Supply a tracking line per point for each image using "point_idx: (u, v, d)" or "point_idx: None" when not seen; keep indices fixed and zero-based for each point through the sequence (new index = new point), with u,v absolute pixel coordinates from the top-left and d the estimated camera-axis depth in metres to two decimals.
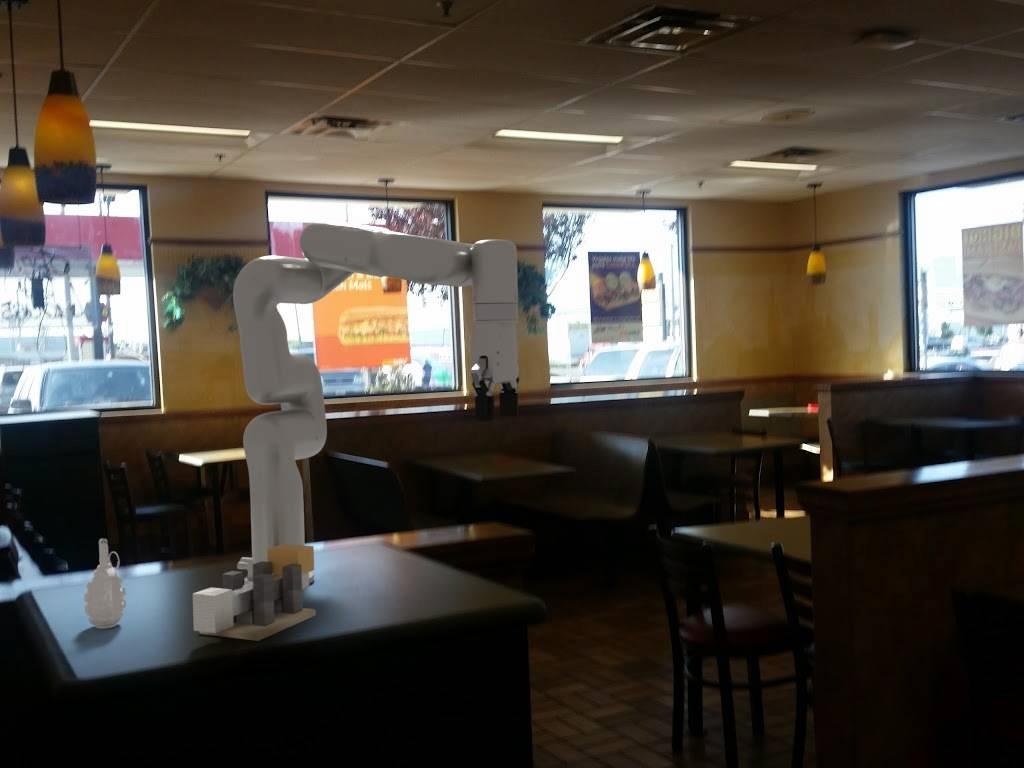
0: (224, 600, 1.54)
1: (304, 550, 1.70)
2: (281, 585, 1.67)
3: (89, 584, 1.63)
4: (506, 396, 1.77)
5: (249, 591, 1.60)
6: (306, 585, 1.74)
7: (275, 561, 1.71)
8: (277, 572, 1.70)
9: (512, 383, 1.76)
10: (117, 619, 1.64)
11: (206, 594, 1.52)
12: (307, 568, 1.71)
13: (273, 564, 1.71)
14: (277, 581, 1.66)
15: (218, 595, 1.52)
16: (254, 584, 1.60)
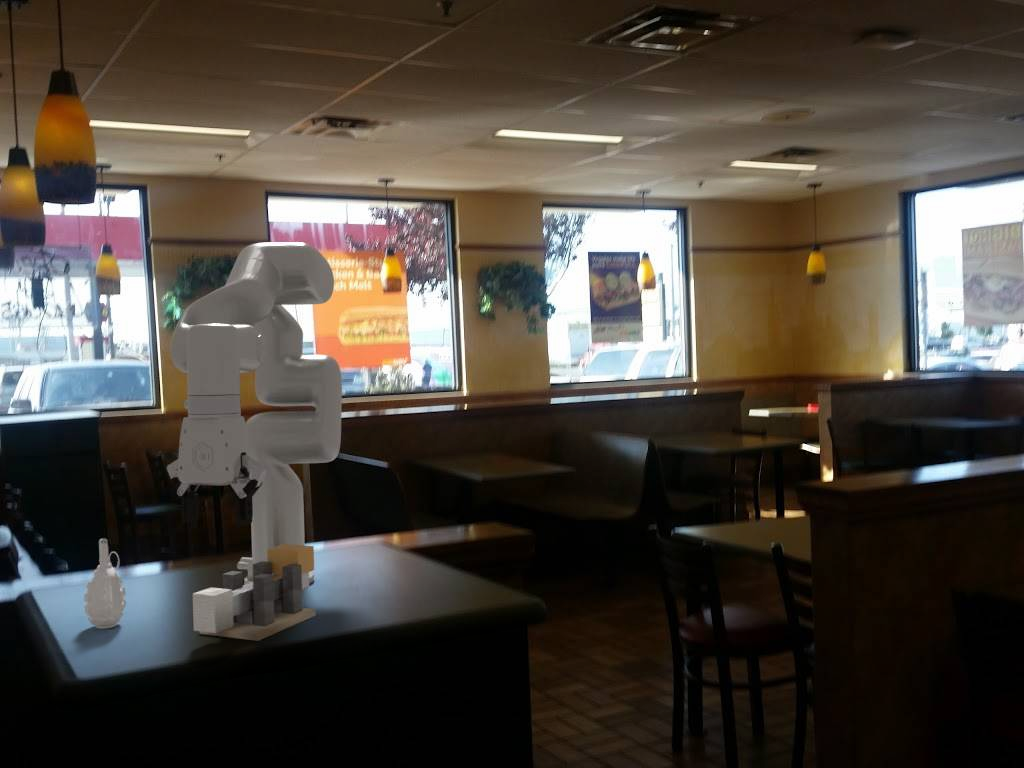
0: (224, 600, 1.54)
1: (304, 550, 1.70)
2: (281, 585, 1.67)
3: (89, 584, 1.63)
4: (191, 499, 1.55)
5: (249, 591, 1.60)
6: (306, 585, 1.74)
7: (275, 561, 1.71)
8: (277, 572, 1.70)
9: None
10: (117, 619, 1.64)
11: (206, 594, 1.52)
12: (307, 568, 1.71)
13: (273, 564, 1.71)
14: (277, 581, 1.66)
15: (218, 595, 1.52)
16: (254, 584, 1.60)
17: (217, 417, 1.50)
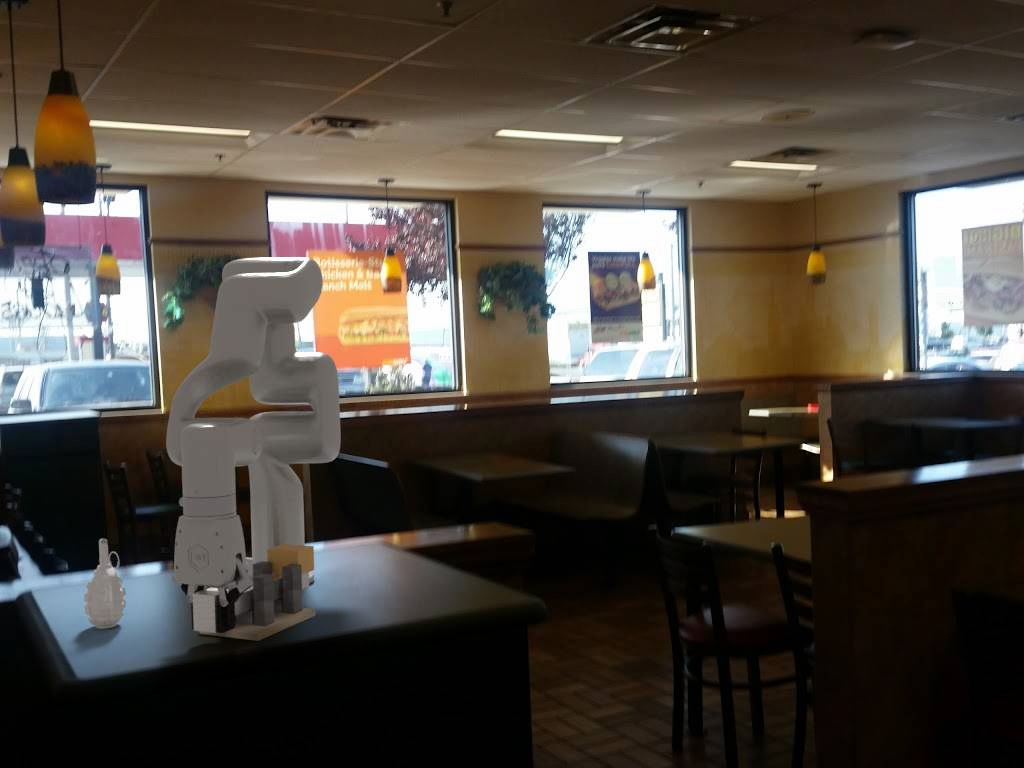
0: None
1: (304, 550, 1.70)
2: (281, 585, 1.67)
3: (89, 584, 1.63)
4: None
5: (249, 591, 1.60)
6: (306, 585, 1.74)
7: (274, 561, 1.71)
8: (277, 572, 1.70)
9: None
10: (117, 619, 1.64)
11: (206, 594, 1.52)
12: (307, 568, 1.71)
13: (273, 564, 1.71)
14: (277, 581, 1.66)
15: (218, 595, 1.52)
16: (254, 584, 1.60)
17: (212, 519, 1.50)
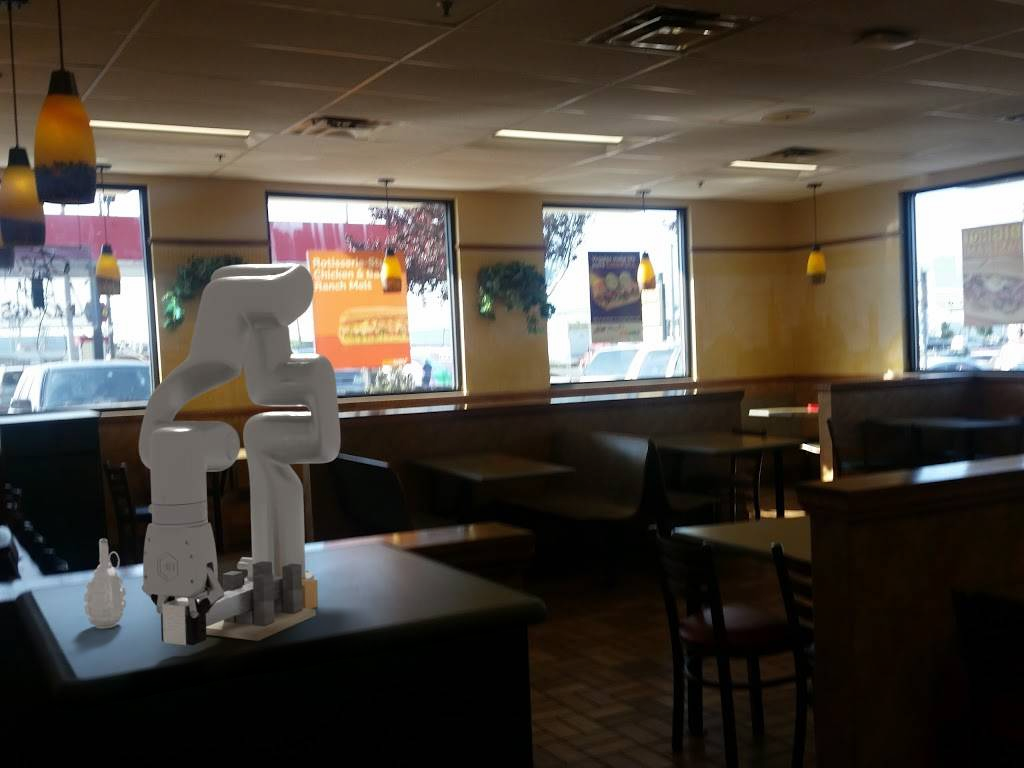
0: None
1: (317, 591, 1.75)
2: None
3: (89, 584, 1.63)
4: None
5: (223, 601, 1.54)
6: None
7: None
8: None
9: None
10: (117, 619, 1.64)
11: (176, 605, 1.47)
12: (307, 599, 1.72)
13: None
14: (252, 590, 1.60)
15: None
16: (254, 584, 1.60)
17: (181, 527, 1.44)
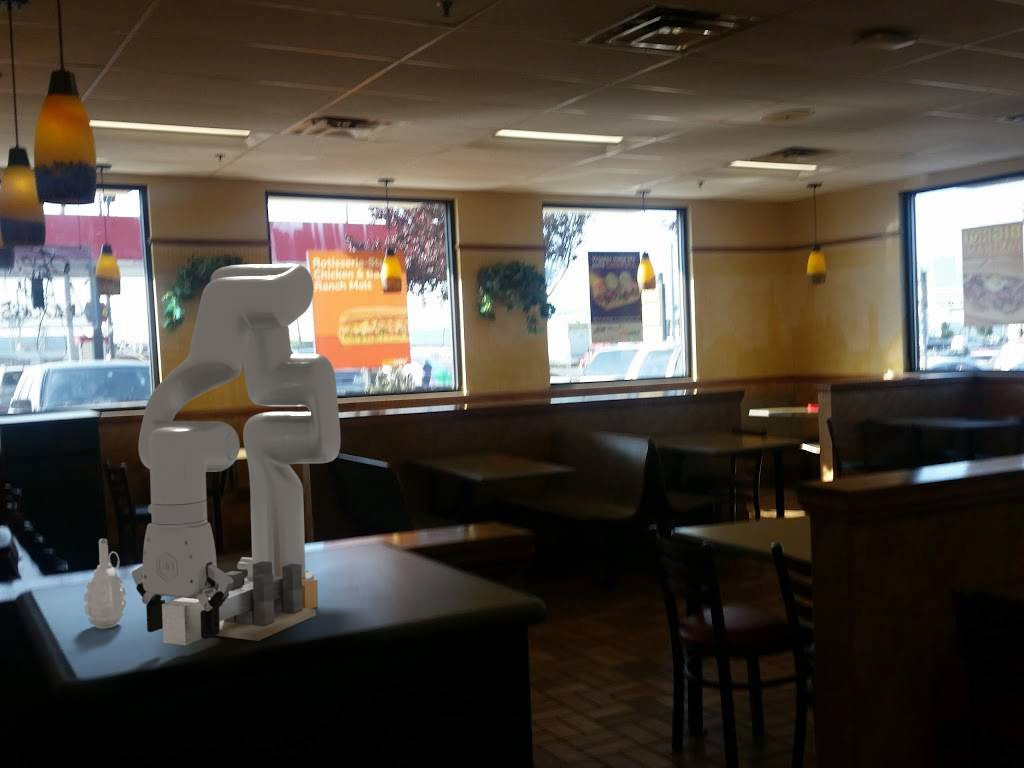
0: (195, 611, 1.48)
1: (317, 591, 1.75)
2: None
3: (89, 584, 1.63)
4: (157, 607, 1.50)
5: None
6: None
7: None
8: None
9: None
10: (117, 619, 1.64)
11: (176, 605, 1.47)
12: (307, 600, 1.72)
13: None
14: (252, 590, 1.60)
15: (188, 606, 1.46)
16: (254, 584, 1.60)
17: (181, 527, 1.44)
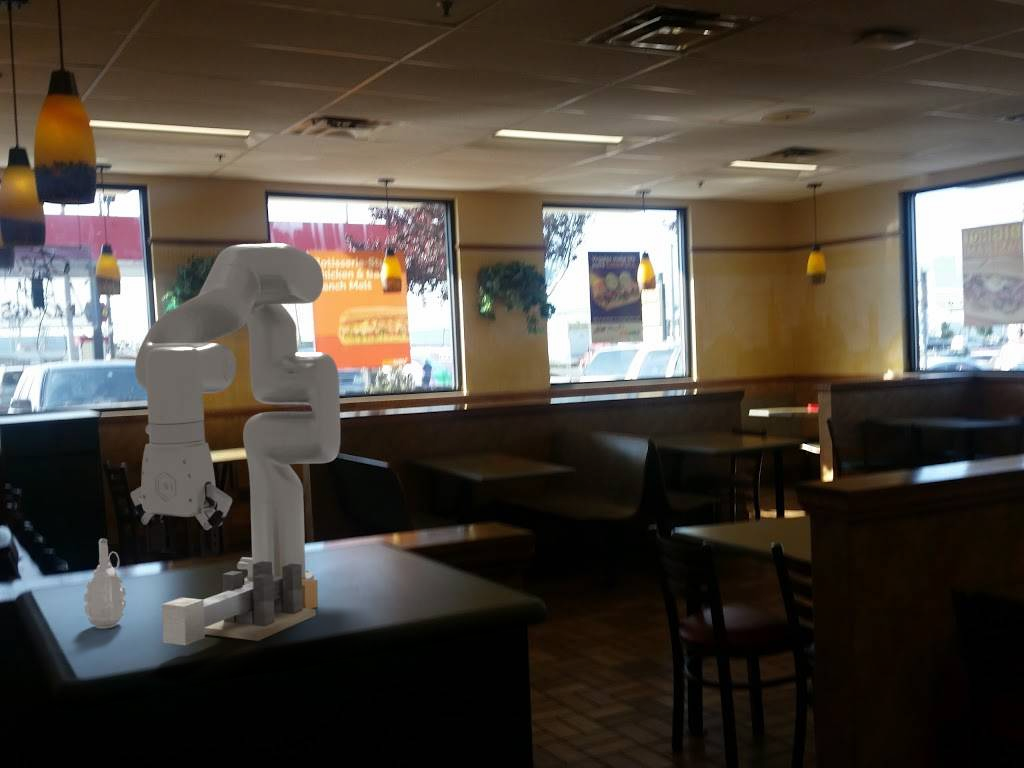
0: (195, 611, 1.48)
1: (317, 591, 1.75)
2: None
3: (89, 584, 1.63)
4: (156, 527, 1.50)
5: (222, 601, 1.54)
6: None
7: None
8: None
9: None
10: (117, 619, 1.64)
11: (176, 605, 1.47)
12: (307, 599, 1.72)
13: None
14: (252, 590, 1.60)
15: (188, 606, 1.46)
16: (254, 584, 1.60)
17: (179, 446, 1.44)
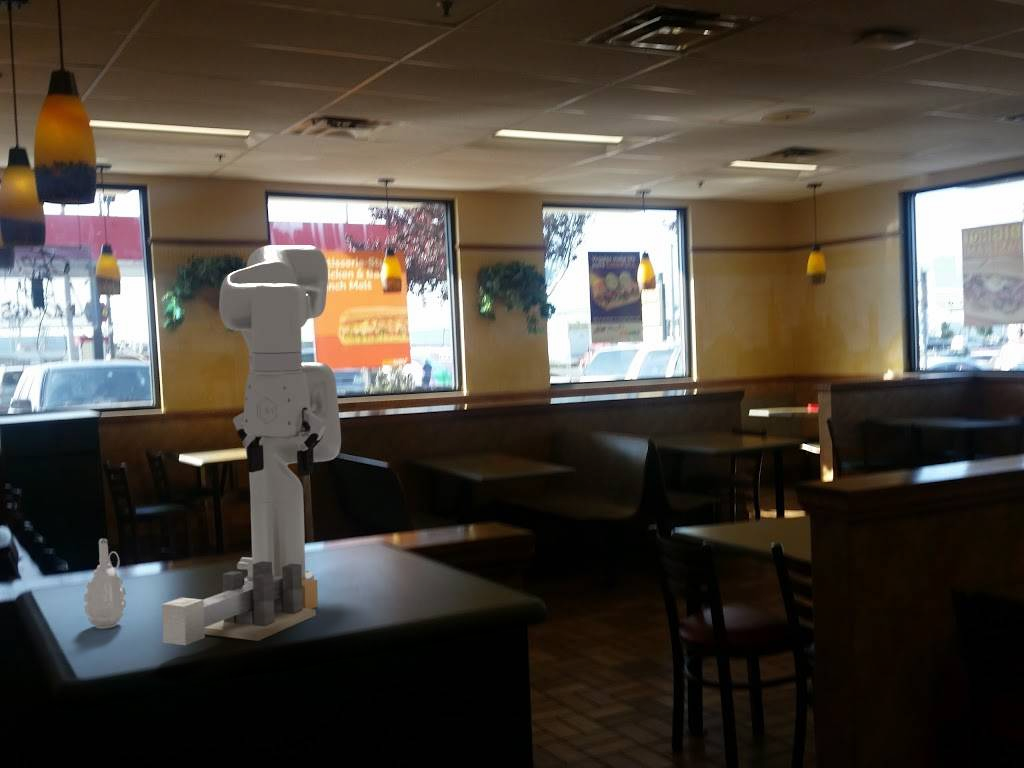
0: (195, 611, 1.48)
1: (316, 591, 1.75)
2: None
3: (89, 584, 1.63)
4: (256, 450, 1.64)
5: (222, 601, 1.54)
6: None
7: None
8: None
9: None
10: (117, 619, 1.64)
11: (176, 605, 1.47)
12: (307, 600, 1.72)
13: None
14: (252, 590, 1.60)
15: (188, 606, 1.46)
16: (254, 584, 1.60)
17: (280, 374, 1.58)
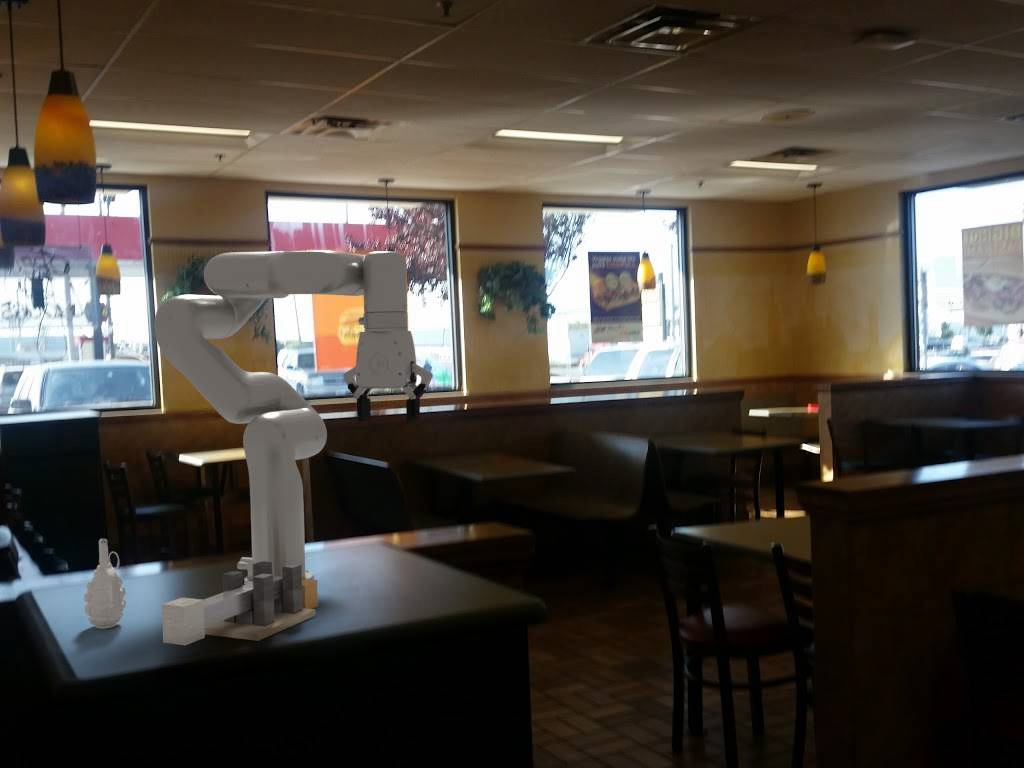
0: (195, 611, 1.48)
1: (316, 591, 1.75)
2: None
3: (89, 584, 1.63)
4: (365, 402, 1.83)
5: (222, 601, 1.54)
6: None
7: None
8: None
9: (371, 389, 1.84)
10: (117, 619, 1.64)
11: (176, 605, 1.47)
12: (307, 599, 1.72)
13: None
14: (252, 590, 1.60)
15: (188, 606, 1.46)
16: (254, 584, 1.60)
17: (391, 330, 1.77)
